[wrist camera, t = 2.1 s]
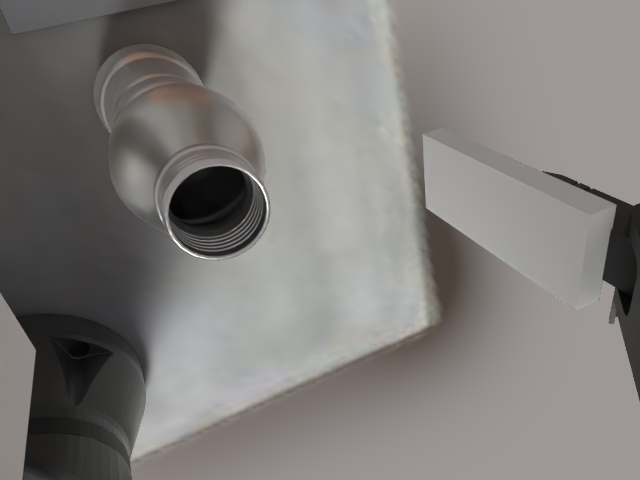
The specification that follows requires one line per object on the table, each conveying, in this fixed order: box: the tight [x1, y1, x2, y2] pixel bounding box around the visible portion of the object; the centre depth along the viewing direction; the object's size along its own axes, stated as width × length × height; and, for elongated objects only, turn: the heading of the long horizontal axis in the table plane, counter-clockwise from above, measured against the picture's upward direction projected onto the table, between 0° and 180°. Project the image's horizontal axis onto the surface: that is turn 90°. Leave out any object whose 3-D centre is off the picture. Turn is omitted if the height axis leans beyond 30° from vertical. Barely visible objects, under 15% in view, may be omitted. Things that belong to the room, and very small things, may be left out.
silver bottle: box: [94, 44, 270, 260], centre depth 25 cm, size 6×7×20 cm
